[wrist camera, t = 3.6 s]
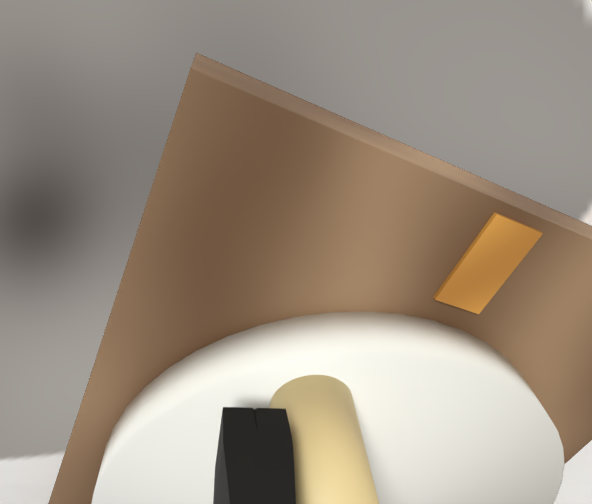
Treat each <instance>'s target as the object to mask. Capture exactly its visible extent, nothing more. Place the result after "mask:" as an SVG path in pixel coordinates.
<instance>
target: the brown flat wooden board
mask: <svg viewBox="0 0 592 504" xmlns="http://www.w3.org/2000/svg"><path fill="white" fill-rule="evenodd" d="M365 311H369V312H381V313H393V314H403V315H408V316H413V317H418V318H423V319H428V320H433V321H436V322H439V323H442V324H445V325H448V326H451V327H454V328H457V329H460V330H463V331H465V332H467V333H469V334H471V335H473V336H475V337H477V338H479V339H481V340H483V341H485V342H486V343H488V344H489V345H490V346H492V347H493V348H494V349H496V350H497V351H499V352H500V353H501V354H503V355H504V356H505V357H506V358H507V359H508V360H509V361H510V362H511V363H512V364H513V365H514V366H515V367H516V368H517V369H518V370H519V372H520V373H521V375H522V376H523V378H524V379H525V381H526V382H527V384H528V385H529V387H530V388H531V390H532V391H533V393H534V394H535V396H536V397H537V399H538V400H539V402H540V403H541V405H542V406H543V408H544V409H545V411H546V412H547V414H548V416H549V417H550V419H551V420H552V422H553V424H554V425H555V427H556V429H557V430H558V433H559V436H560V439H561V442H562V446H563V451H564V464H565V463H566V462H567V461H569V460H570V459H571V458H572V457H573V456H574V455H575V454H576V453H578V452H579V451H580V450H581V449H582V448H583V447H584V446H585V445H586V444H588V443H589V442H590V441H591V440H592V226H590V225H588V224H586V223H583V222H581V221H579V220H577V219H574V218H572V217H570V216H567V215H565V214H563V213H561V212H558V211H556V210H554V209H551V208H549V207H547V206H545V205H542V204H540V203H538V202H536V201H533V200H531V199H529V198H526V197H524V196H522V195H520V194H517V193H515V192H513V191H510V190H508V189H506V188H503V187H501V186H499V185H497V184H494V183H492V182H490V181H488V180H485V179H483V178H481V177H479V176H476V175H474V174H472V173H469V172H467V171H465V170H463V169H460V168H458V167H456V166H453V165H451V164H449V163H447V162H444V161H442V160H440V159H437V158H435V157H433V156H431V155H428V154H426V153H424V152H422V151H419V150H417V149H415V148H412V147H410V146H408V145H406V144H403V143H401V142H399V141H396V140H394V139H392V138H389V137H387V136H385V135H383V134H380V133H378V132H376V131H373V130H371V129H369V128H367V127H364V126H362V125H360V124H357V123H355V122H353V121H351V120H349V119H346V118H344V117H341V116H339V115H337V114H335V113H332V112H330V111H328V110H326V109H323V108H321V107H319V106H317V105H314V104H312V103H310V102H307V101H305V100H303V99H301V98H298V97H296V96H294V95H292V94H289V93H287V92H285V91H282V90H280V89H278V88H275V87H273V86H271V85H268V84H266V83H264V82H262V81H260V80H257V79H255V78H253V77H250V76H248V75H246V74H244V73H241V72H239V71H237V70H234V69H232V68H230V67H228V66H225V65H223V64H221V63H219V62H216V61H214V60H212V59H209V58H207V57H205V56H203V55H200V54H198V53H196V56H195V58H194V61H193V63H192V66H191V69H190V72H189V75H188V78H187V81H186V84H185V87H184V90H183V93H182V96H181V100H180V102H179V105H178V108H177V112H176V115H175V118H174V121H173V124H172V127H171V130H170V133H169V137H168V139H167V142H166V145H165V148H164V151H163V155H162V158H161V161H160V164H159V167H158V170H157V173H156V176H155V179H154V182H153V185H152V188H151V191H150V194H149V197H148V201H147V203H146V206H145V210H144V213H143V216H142V219H141V222H140V225H139V228H138V231H137V234H136V237H135V240H134V243H133V246H132V250H131V252H130V256H129V259H128V262H127V265H126V268H125V271H124V274H123V277H122V280H121V283H120V286H119V289H118V292H117V295H116V298H115V301H114V305H113V308H112V311H111V314H110V317H109V320H108V323H107V326H106V329H105V332H104V335H103V338H102V341H101V345H100V347H99V350H98V354H97V357H96V360H95V363H94V366H93V369H92V372H91V375H90V378H89V381H88V384H87V387H86V390H85V393H84V396H83V400H82V403H81V406H80V409H79V412H78V415H77V418H76V421H75V424H74V427H73V430H72V433H71V436H70V439H69V442H68V445H67V448H66V452H65V455H64V458H63V461H62V464H61V467H60V470H59V473H58V476H57V479H56V482H55V485H54V488H53V491H52V494H51V497H50V501H49V504H92V498H93V494H94V490H95V486H96V482H97V478H98V475H99V471H100V467H101V463H102V459H103V456H104V452H105V448H106V445H107V442H108V440H109V438H110V435H111V433H112V430H113V428H114V426H115V424H116V423H117V421H118V420H119V418H120V417H121V415H122V414H123V412H124V410H125V409H126V407H127V406H128V405H129V404H130V403H131V402H132V401H133V399H134V398H135V397H136V396H137V395H138V394H139V393H140V392H141V391H142V390H143V389H144V388H145V386H147V385H148V384H149V383H150V382H152V381H153V380H154V379H155V378H157V377H158V376H159V375H160V374H162V373H163V372H164V371H165V370H166V369H168V368H169V367H171V366H172V365H174V364H176V363H177V362H179V361H180V360H182V359H184V358H185V357H187V356H189V355H190V354H192V353H193V352H195V351H197V350H199V349H201V348H203V347H206V346H208V345H210V344H212V343H214V342H216V341H218V340H221V339H223V338H225V337H227V336H230V335H233V334H236V333H239V332H242V331H245V330H248V329H251V328H253V327H256V326H259V325H263V324H267V323H272V322H276V321H280V320H285V319H289V318H293V317H299V316H307V315H315V314H323V313H331V312H365Z"/></svg>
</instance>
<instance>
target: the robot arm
mask: <svg viewBox="0 0 592 504" xmlns="http://www.w3.org/2000/svg"><path fill="white" fill-rule="evenodd" d="M213 504H296V493H295V472H294V453H293V441H292V435H291V430H290V425H289V421H288V416H287V412H286V409H281V408H256V409H255V410H254V409H253V408H242V407H223V410H222V418H221V425H220V433H219V441H218V449H217V456H216V464H215V478H214V497H213Z"/></svg>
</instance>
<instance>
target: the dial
mask: <svg viewBox="0 0 592 504" xmlns="http://www.w3.org/2000/svg"><path fill="white" fill-rule="evenodd" d="M223 407H242V408H253V409H254V410H255V409H256V408H281V409H286V412H287V416H288V421H289V425H290V430H291V435H292V441H293V453H294V472H295V493H296V504H553V503H554V501H555V499H556V497H557V494H558V491H559V489H560V486H561V483H562V478H563V471H564V451H563V446H562V442H561V439H560V436H559V433H558V430H557V429H556V427H555V425H554V424H553V422H552V420H551V419H550V417H549V416H548V414H547V412H546V411H545V409H544V408H543V406H542V405H541V403H540V402H539V400H538V399H537V397H536V396H535V394H534V393H533V391H532V390H531V388H530V387H529V385H528V384H527V382H526V381H525V379H524V378H523V376H522V375H521V373H520V372H519V370H518V369H517V368H516V367H515V366H514V365H513V364H512V363H511V362H510V361H509V360H508V359H507V358H506V357H505V356H504V355H503V354H501V353H500V352H499V351H497V350H496V349H494V348H493V347H492V346H490V345H489V344H488V343H486V342H485V341H483V340H481V339H479V338H477V337H475V336H473V335H471V334H469V333H467V332H465V331H463V330H460V329H457V328H454V327H451V326H448V325H445V324H442V323H439V322H436V321H433V320H428V319H423V318H418V317H413V316H408V315H403V314H393V313H381V312H369V311H365V312H331V313H323V314H315V315H307V316H299V317H293V318H289V319H285V320H280V321H276V322H272V323H267V324H263V325H259V326H256V327H253V328H251V329H248V330H245V331H242V332H239V333H236V334H233V335H230V336H227V337H225V338H223V339H221V340H218V341H216V342H214V343H212V344H210V345H208V346H206V347H203V348H201V349H199V350H197V351H195V352H193V353H192V354H190V355H189V356H187V357H185V358H184V359H182V360H180V361H179V362H177V363H176V364H174V365H172V366H171V367H169V368H168V369H166V370H165V371H164V372H163V373H162V374H160V375H159V376H158V377H157V378H155V379H154V380H153V381H152V382H150V383H149V384H148V385H147V386H145V388H144V389H143V390H142V391H141V392H140V393H139V394H138V395H137V396H136V397H135V398H134V399H133V401H132V402H131V403H130V404H129V405H128V406H127V407H126V409H125V410H124V412H123V414H122V415H121V417H120V418H119V420H118V421H117V423H116V424H115V426H114V428H113V430H112V433H111V435H110V438H109V440H108V442H107V445H106V448H105V452H104V456H103V459H102V463H101V467H100V471H99V475H98V478H97V482H96V486H95V490H94V494H93V498H92V504H213V497H214V478H215V464H216V456H217V449H218V441H219V433H220V425H221V418H222V410H223Z"/></svg>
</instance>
